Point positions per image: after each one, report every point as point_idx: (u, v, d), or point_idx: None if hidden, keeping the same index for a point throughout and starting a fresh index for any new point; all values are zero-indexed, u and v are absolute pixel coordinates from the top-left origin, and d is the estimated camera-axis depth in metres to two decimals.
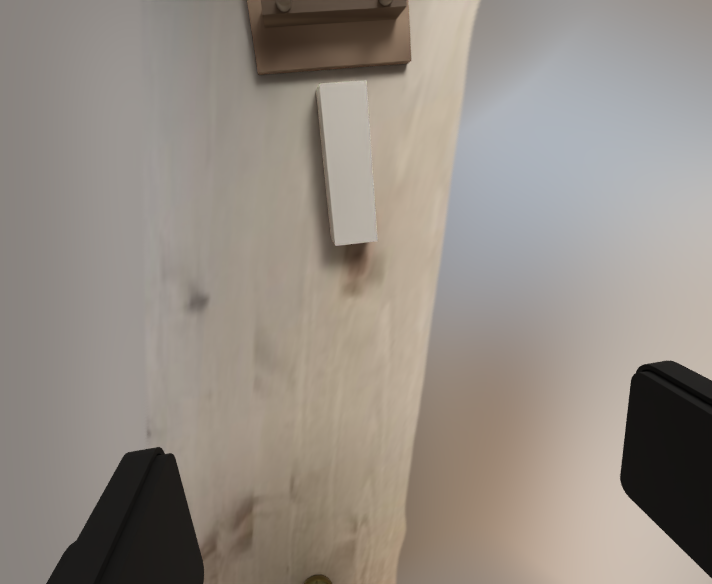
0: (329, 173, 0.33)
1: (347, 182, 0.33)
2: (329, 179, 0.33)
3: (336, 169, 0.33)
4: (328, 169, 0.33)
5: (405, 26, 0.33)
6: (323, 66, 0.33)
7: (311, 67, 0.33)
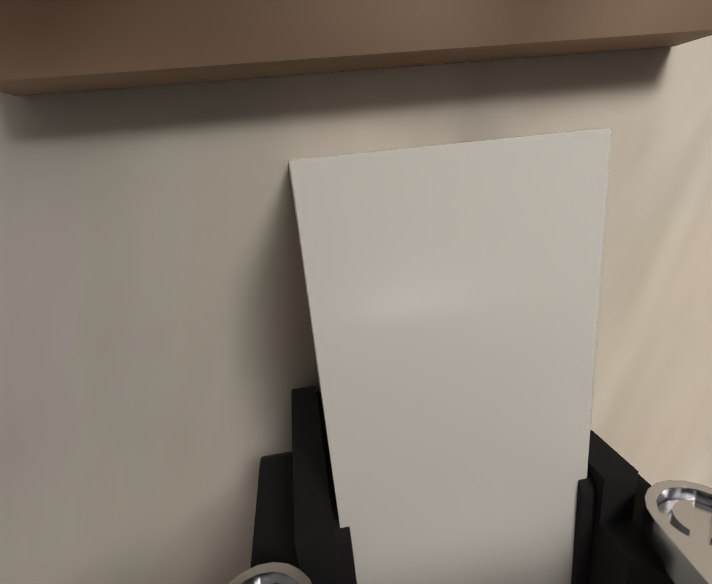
0: None
1: None
2: None
3: None
4: None
5: None
6: (327, 54, 0.07)
7: (265, 59, 0.06)
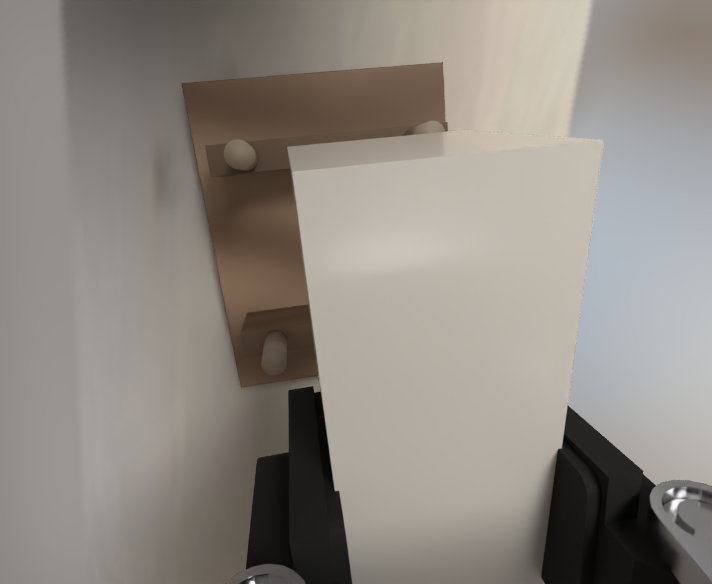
0: (352, 575, 0.07)
1: None
2: None
3: (386, 556, 0.07)
4: None
5: None
6: None
7: (316, 373, 0.24)
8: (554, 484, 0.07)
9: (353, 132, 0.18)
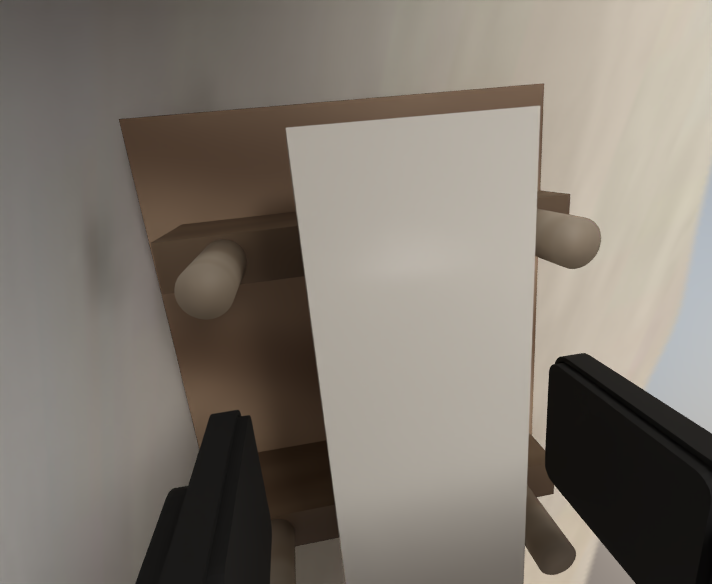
0: (343, 515, 0.07)
1: (418, 536, 0.08)
2: (343, 534, 0.08)
3: (373, 497, 0.07)
4: (338, 499, 0.07)
5: None
6: None
7: None
8: (661, 486, 0.07)
9: None
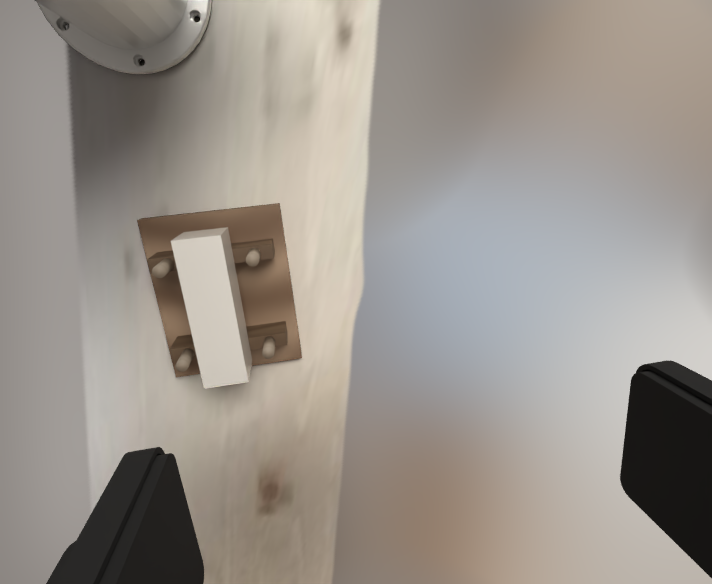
0: (190, 322, 0.33)
1: (210, 329, 0.33)
2: (191, 328, 0.33)
3: (197, 318, 0.33)
4: (189, 318, 0.33)
5: (295, 336, 0.42)
6: None
7: None
8: None
9: None
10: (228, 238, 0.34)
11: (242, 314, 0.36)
